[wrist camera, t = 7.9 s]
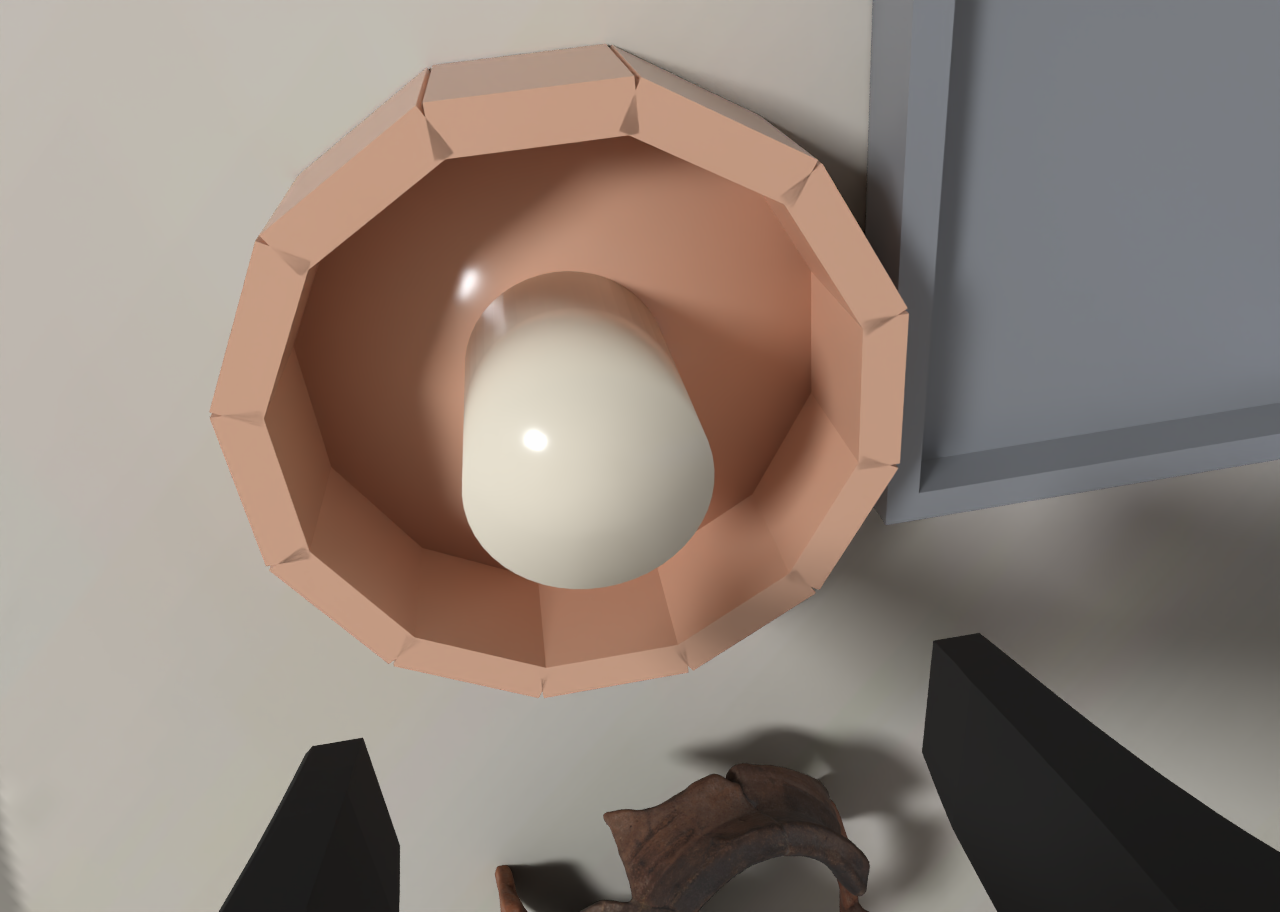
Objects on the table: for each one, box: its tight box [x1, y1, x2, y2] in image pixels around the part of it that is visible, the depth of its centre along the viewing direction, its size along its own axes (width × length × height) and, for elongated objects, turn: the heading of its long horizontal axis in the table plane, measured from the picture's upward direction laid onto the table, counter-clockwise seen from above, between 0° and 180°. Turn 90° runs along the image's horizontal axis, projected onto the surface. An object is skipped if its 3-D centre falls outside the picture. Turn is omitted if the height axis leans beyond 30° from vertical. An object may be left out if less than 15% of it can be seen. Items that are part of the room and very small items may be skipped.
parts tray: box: [865, 0, 1280, 525], centre depth 18 cm, size 12×12×2 cm
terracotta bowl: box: [210, 44, 909, 698], centre depth 18 cm, size 12×12×4 cm
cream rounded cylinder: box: [462, 271, 714, 589], centre depth 17 cm, size 4×4×4 cm
